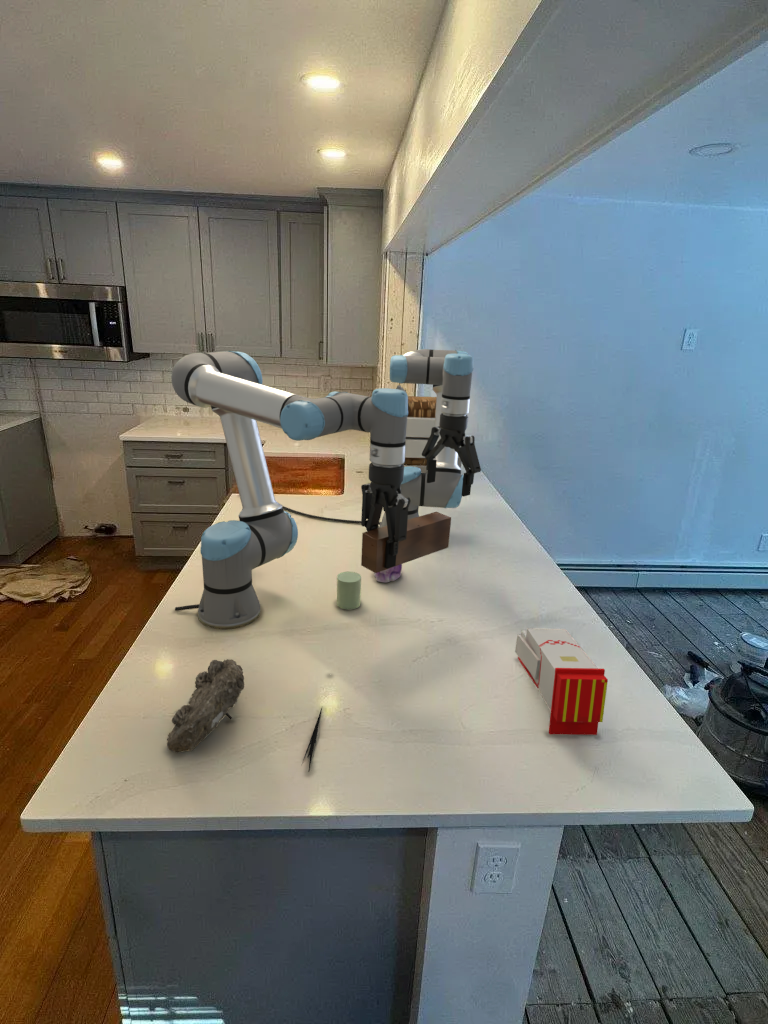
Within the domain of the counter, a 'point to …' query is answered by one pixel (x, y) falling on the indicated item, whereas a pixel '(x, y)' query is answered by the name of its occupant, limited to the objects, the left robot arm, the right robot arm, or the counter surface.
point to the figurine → (389, 574)
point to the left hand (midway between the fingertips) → (381, 562)
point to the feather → (313, 740)
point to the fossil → (206, 705)
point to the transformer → (419, 428)
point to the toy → (564, 680)
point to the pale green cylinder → (348, 590)
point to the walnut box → (407, 541)
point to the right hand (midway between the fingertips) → (447, 488)
